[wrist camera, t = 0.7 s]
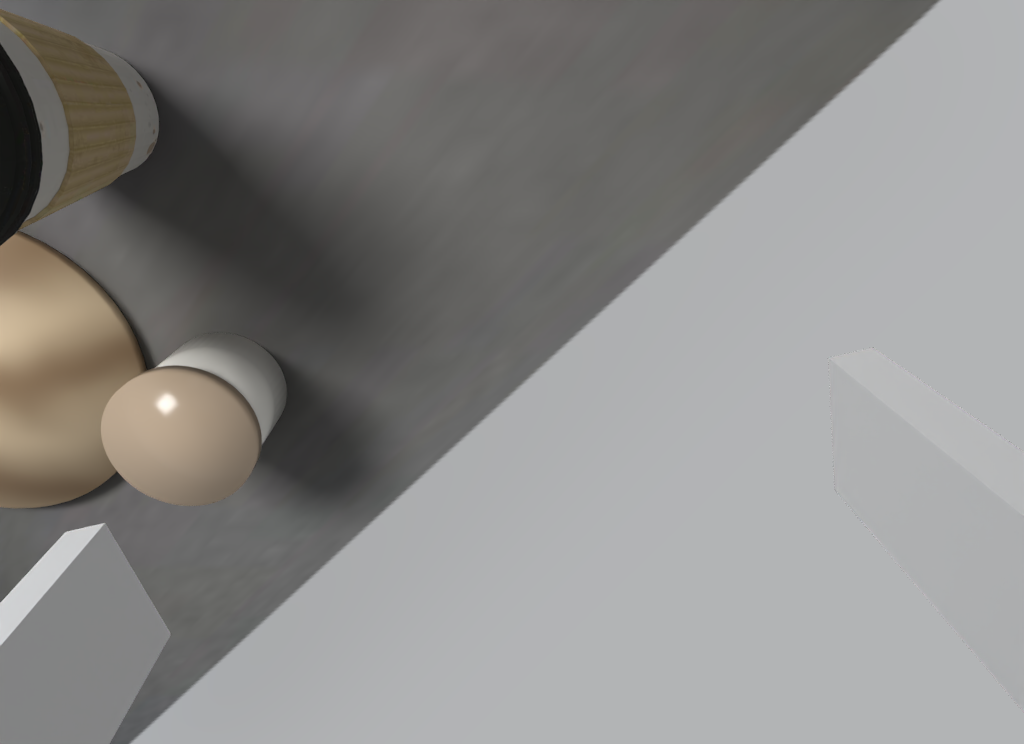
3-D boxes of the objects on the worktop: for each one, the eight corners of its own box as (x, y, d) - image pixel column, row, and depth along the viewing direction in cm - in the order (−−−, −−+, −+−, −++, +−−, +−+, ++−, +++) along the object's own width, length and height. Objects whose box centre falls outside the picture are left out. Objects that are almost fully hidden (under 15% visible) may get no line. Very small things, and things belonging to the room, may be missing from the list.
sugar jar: (142, 341, 39) (74, 390, 33) (267, 315, 39) (224, 358, 32) (191, 453, 42) (138, 518, 36) (308, 429, 42) (276, 490, 35)
